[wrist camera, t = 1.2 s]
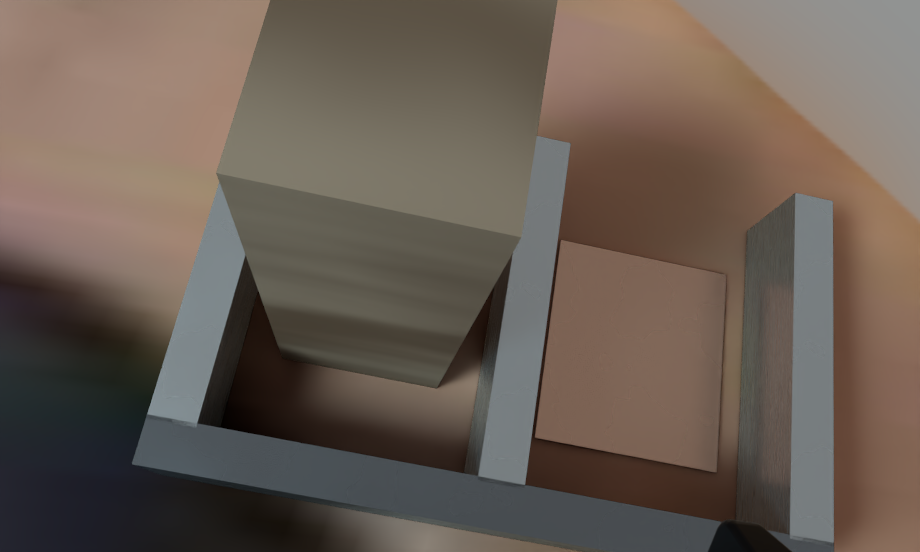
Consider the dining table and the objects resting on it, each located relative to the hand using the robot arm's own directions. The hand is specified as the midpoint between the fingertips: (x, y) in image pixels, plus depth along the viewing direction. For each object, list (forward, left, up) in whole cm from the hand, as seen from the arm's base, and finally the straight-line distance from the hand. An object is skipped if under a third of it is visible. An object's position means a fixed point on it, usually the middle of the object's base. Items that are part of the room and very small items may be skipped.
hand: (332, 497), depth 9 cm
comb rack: (+5, -5, -13) cm, 15 cm away
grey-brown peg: (+6, -1, -13) cm, 15 cm away
